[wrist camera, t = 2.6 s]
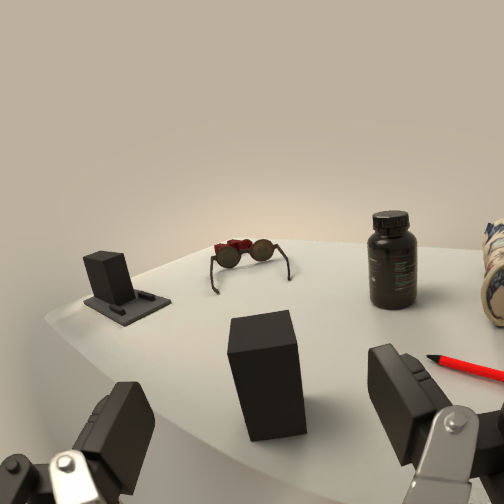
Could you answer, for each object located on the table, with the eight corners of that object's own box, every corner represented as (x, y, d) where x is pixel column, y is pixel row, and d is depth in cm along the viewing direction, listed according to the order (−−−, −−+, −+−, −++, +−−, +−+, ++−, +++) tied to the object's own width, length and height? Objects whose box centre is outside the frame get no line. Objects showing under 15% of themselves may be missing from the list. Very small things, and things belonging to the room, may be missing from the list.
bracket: (218, 249, 73) (251, 238, 79) (206, 247, 78) (238, 237, 83) (220, 261, 74) (253, 249, 80) (208, 258, 78) (240, 247, 84)
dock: (124, 326, 46) (106, 270, 44) (83, 303, 60) (70, 261, 57) (171, 302, 54) (158, 250, 51) (121, 287, 67) (110, 246, 64)
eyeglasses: (279, 257, 69) (276, 235, 68) (295, 279, 55) (291, 252, 53) (213, 270, 68) (208, 248, 67) (212, 296, 54) (206, 268, 52)
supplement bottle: (363, 294, 44) (357, 213, 41) (403, 285, 44) (401, 207, 40) (380, 315, 37) (376, 221, 34) (425, 303, 37) (425, 214, 34)
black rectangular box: (250, 441, 22) (226, 353, 19) (250, 402, 26) (231, 318, 24) (307, 433, 21) (297, 343, 19) (299, 395, 26) (288, 309, 24)
